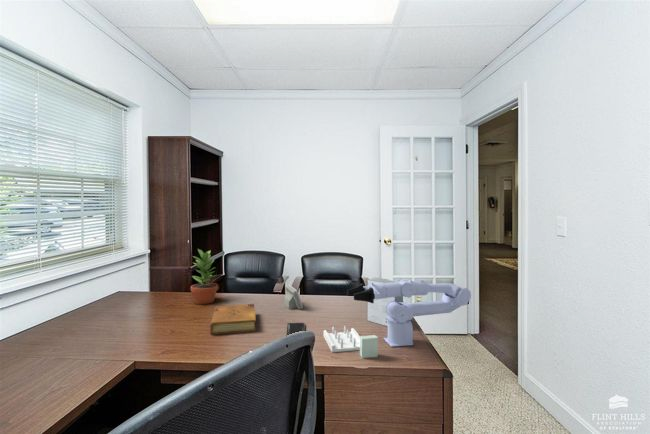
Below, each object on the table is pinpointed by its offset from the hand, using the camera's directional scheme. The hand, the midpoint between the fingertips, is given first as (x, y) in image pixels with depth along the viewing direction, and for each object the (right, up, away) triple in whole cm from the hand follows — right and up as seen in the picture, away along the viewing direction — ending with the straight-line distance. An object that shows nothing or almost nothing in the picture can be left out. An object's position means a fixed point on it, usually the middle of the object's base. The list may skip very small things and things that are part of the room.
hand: (350, 294), depth 127 cm
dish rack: (-2, -20, +5) cm, 21 cm away
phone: (-22, -20, +17) cm, 35 cm away
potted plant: (-78, -18, +60) cm, 99 cm away
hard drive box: (+18, -20, +28) cm, 39 cm away
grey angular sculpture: (-27, -19, +52) cm, 62 cm away
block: (+6, -21, -6) cm, 23 cm away
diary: (-52, -20, +25) cm, 61 cm away
